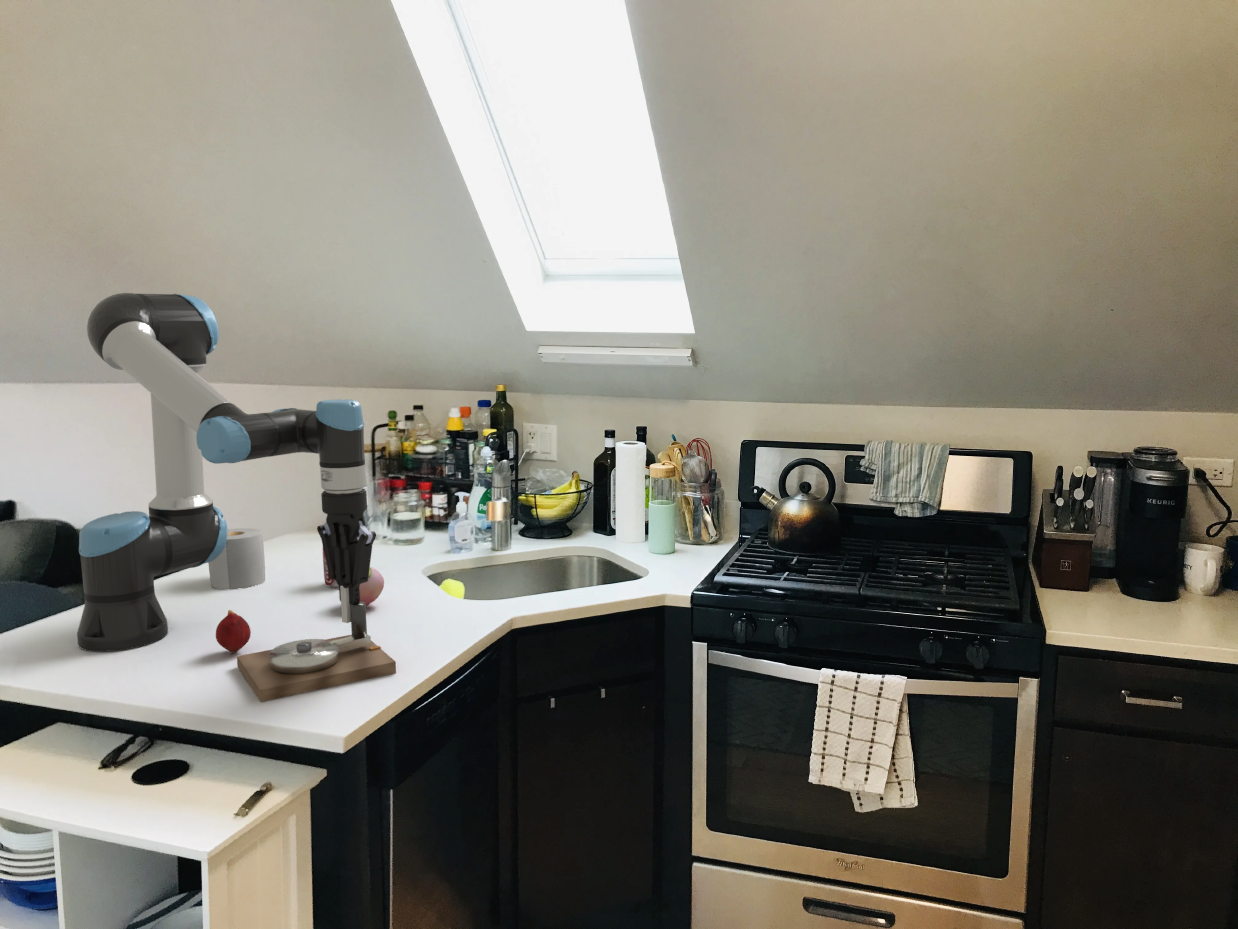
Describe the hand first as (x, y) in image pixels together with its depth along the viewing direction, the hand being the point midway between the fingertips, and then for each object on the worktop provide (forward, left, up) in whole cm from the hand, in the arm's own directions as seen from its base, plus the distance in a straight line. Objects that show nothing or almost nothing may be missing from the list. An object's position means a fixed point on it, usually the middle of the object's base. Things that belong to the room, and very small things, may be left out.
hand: (350, 620), depth 162 cm
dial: (-6, -3, -5) cm, 8 cm away
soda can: (+12, +48, -7) cm, 50 cm away
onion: (-17, +15, -7) cm, 24 cm away
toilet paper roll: (-7, +64, -7) cm, 65 cm away
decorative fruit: (+11, +29, -7) cm, 32 cm away
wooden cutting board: (-7, -2, -7) cm, 10 cm away
